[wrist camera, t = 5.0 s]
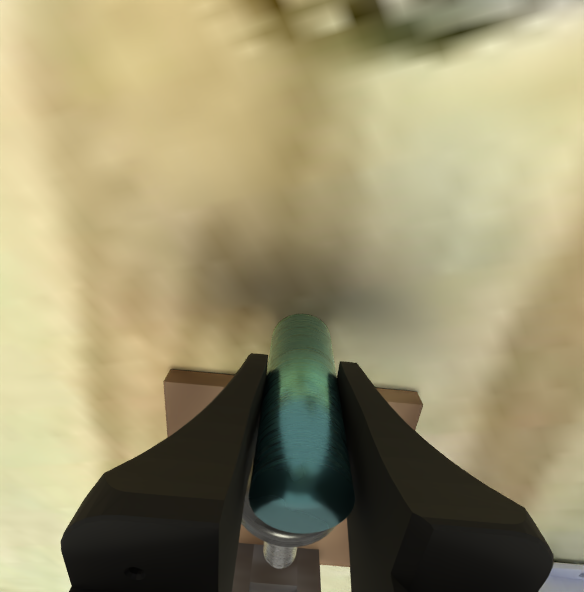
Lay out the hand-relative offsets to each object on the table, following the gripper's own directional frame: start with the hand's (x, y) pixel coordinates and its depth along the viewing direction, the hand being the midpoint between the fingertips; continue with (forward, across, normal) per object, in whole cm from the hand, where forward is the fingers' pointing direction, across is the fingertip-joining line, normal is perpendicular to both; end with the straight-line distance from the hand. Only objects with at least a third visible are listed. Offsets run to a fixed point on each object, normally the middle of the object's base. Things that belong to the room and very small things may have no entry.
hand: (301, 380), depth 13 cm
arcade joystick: (+3, 0, +4) cm, 5 cm away
